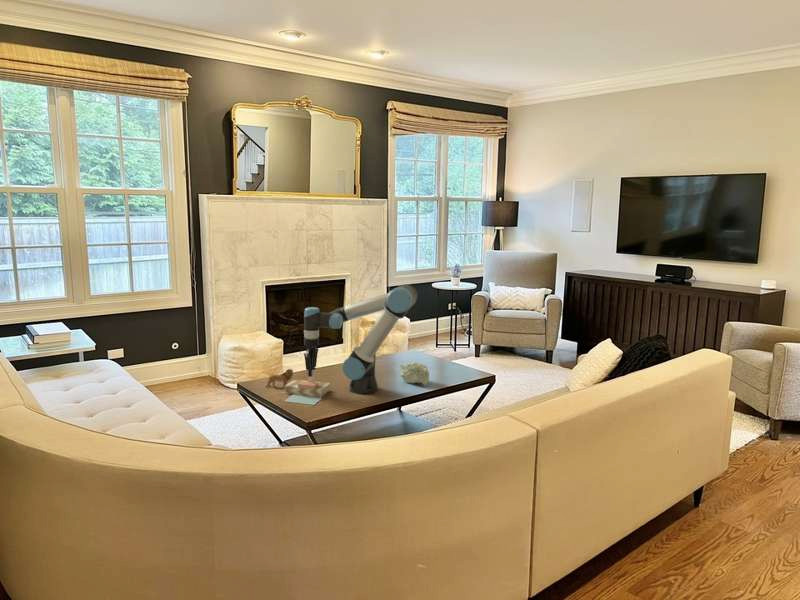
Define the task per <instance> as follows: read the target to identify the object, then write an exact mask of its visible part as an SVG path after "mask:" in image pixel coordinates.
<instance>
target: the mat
mask: <svg viewBox="0 0 800 600" xmlns="http://www.w3.org/2000/svg"><path fill="white" fill-rule="evenodd" d="M322 398H323V397H322ZM322 398H320V397H312V396H304V395H295V394H291V395H290V396H288V398H286V399H284V400H283V403H291V404H292V403H293V404H298V405H299V404H300V405H308V406H315V405H316V404H318V403H319V402H320V401H322V400H323V399H322ZM317 402H318V403H317Z"/></svg>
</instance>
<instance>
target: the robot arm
mask: <svg viewBox="0 0 800 600" xmlns="http://www.w3.org/2000/svg"><path fill="white" fill-rule="evenodd" d="M417 301H418V291H417V290H416V288H415V287H413V286H412V285H410V284H407V283H406V284H401V285H399V286H397V287H395V288H393V289H390V290H389V292H388V293H383V294H381V295H377V296H374V297H370V298H368V299H366V300H365V299H364V300H362V301H359V302H355V303H353V304H352V303H351V304H349V305H347V306H344V307H338V308H335V309H334V310H333V311H330V312H321V311H320V308H319V307H314V306H311V307H310V306H308V307H305V308H304V312H303V313H304V315H303V320H304V321H303V322H304V323H303V325H304V329H303V335H304V336H303V338H304V339H303V346H306V349H305V350H306V351H305V353H303V356H304V361H305V370H306V371H307V381H310V382H315V370H317V362H318V353H319V347H318V348H317V346H319V344H320V338H319V337H320V328H326V329H332V330H334V329H341V328H342V326H343V323H345V322H348V321H352V320H354V319H358V318H361V317H364V316H368V315H370V314H375V313H378V312H381V311H382V312H381V313H380V315H379V316H378V318H377V319H376V321H375V322H374V323H373V326H371V328H370V329H369V331H368V333H367V335H366V336H365V337H364V339H362V340H363V341H362V342H361V343H360V345H359V346H355V347H353V350H352V351H351V353H350V355H349V356H348V357H347V358H346V359H344V361H343V362H342V368H341V369H342V372H343V374H344V376H345V377H347V379H348V380H349V379H350V382H349V391H350V392H352V393H354V392H355V394H360V393H368V394H374V393H376V392H377V391H378V390H379V385H378V382H377V377H376V355H377V352H378V351H379V349H380V348H381V346H382V344H383V343H384V342H385V340H386V338H387V337H388V336H389V334H390V332H391V331H392V330H393V328H394V326H395V325H396V324H397V322H398V321H399V320H401V319H403V318H404V317H405V316H406V315H407V313H408V312H409V310H410V309H411V307H412V306H414V305H415V304H416V303H417ZM375 391H376V392H375ZM373 392H374V393H373Z"/></svg>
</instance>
